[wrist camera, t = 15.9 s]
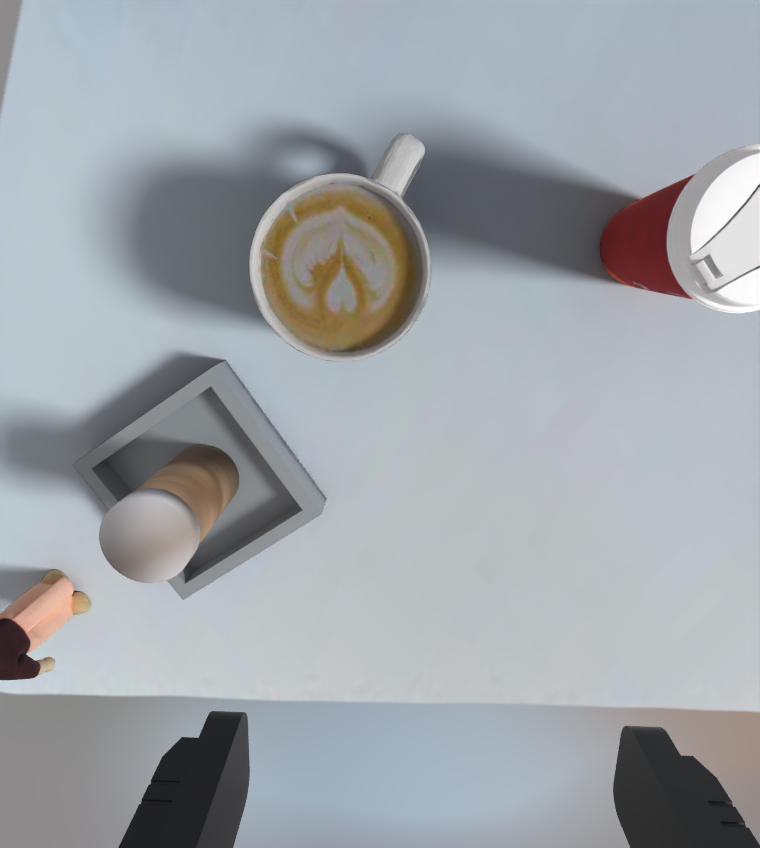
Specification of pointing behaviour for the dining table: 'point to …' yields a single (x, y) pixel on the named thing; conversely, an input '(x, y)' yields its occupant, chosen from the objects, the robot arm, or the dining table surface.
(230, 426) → the stoneware tray
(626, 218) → the paper cup
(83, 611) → the grandmother figurine
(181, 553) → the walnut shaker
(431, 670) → the dining table surface
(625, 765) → the robot arm
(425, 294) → the coffee mug
